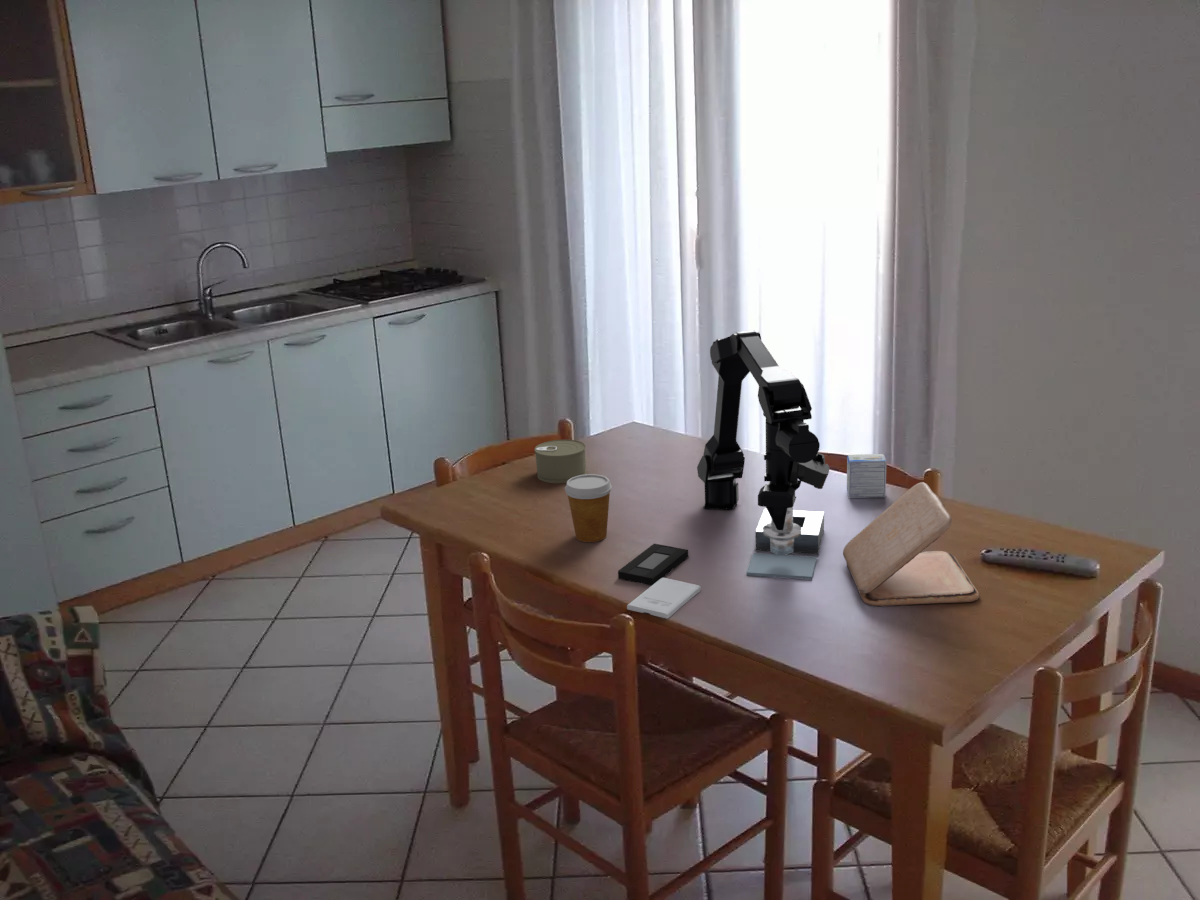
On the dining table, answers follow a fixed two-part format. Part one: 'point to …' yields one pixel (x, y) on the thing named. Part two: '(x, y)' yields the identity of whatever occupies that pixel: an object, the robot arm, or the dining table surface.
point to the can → (560, 460)
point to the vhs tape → (653, 564)
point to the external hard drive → (664, 597)
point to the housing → (809, 531)
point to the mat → (782, 566)
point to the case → (907, 555)
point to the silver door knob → (782, 535)
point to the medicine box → (866, 476)
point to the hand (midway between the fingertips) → (781, 525)
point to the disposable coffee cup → (589, 506)
